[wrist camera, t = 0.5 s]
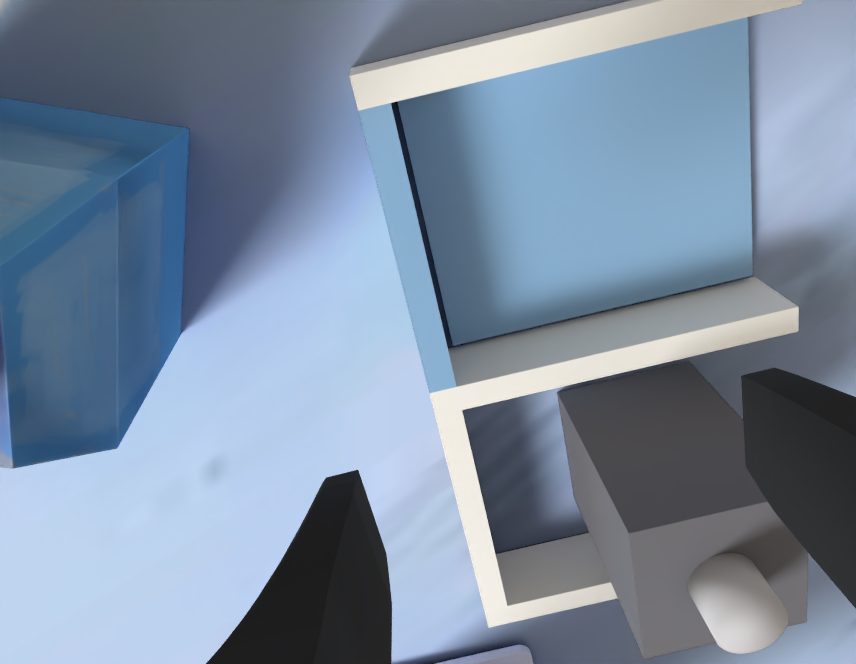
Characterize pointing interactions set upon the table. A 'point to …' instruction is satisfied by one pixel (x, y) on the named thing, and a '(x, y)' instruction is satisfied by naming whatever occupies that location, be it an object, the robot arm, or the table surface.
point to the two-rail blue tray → (569, 227)
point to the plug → (680, 514)
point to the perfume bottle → (85, 274)
